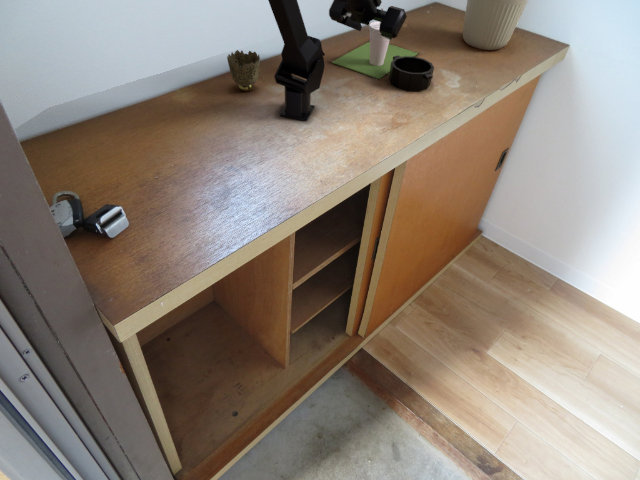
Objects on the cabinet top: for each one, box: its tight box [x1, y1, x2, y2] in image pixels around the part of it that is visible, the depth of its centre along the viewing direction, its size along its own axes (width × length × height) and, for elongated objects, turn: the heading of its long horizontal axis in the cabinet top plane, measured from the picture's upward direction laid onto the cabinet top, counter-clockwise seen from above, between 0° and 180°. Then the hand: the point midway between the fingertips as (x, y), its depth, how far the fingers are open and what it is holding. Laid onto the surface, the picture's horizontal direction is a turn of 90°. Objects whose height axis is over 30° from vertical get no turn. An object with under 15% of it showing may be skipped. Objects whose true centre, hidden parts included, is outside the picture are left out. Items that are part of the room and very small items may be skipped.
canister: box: [462, 0, 529, 51], centre depth 127 cm, size 18×18×21 cm
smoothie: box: [368, 7, 391, 66], centre depth 115 cm, size 6×6×14 cm
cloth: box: [331, 41, 419, 80], centre depth 123 cm, size 22×15×1 cm
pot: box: [388, 55, 435, 92], centre depth 111 cm, size 10×13×4 cm
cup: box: [226, 49, 261, 93], centre depth 103 cm, size 8×7×8 cm
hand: (375, 33), depth 112 cm, fingers open, 9 cm apart
